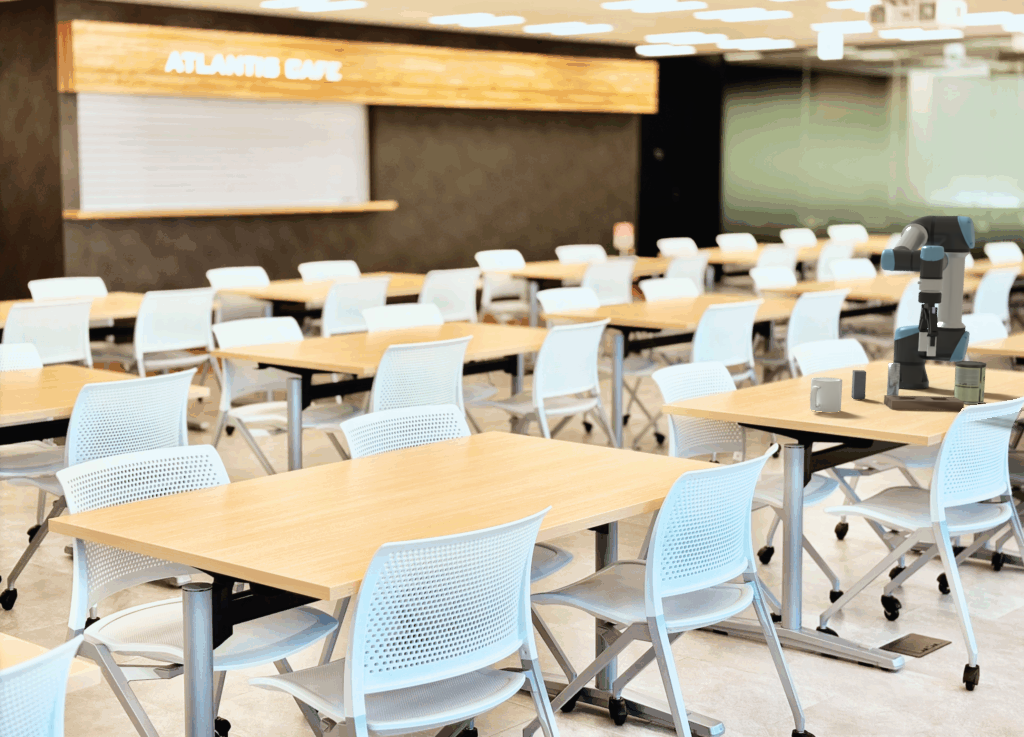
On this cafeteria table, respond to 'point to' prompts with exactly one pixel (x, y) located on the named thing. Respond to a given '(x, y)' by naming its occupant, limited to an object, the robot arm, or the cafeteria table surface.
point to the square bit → (858, 384)
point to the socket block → (923, 403)
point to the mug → (826, 394)
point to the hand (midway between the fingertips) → (926, 353)
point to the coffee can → (970, 381)
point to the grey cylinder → (893, 379)
